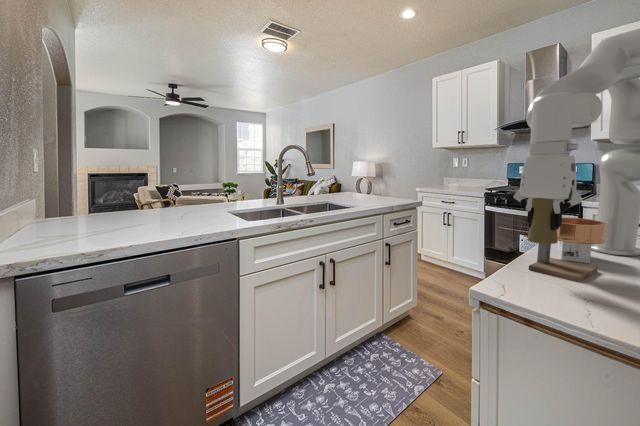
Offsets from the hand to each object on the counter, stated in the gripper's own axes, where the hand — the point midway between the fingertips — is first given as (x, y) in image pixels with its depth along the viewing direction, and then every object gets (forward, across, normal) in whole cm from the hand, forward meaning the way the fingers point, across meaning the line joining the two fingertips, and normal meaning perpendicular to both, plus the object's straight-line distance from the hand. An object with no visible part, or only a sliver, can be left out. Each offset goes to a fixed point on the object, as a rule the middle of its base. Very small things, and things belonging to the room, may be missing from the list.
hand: (543, 227), depth 74 cm
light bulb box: (+14, +2, -27) cm, 30 cm away
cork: (+4, 0, 0) cm, 4 cm away
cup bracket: (+13, -2, -11) cm, 17 cm away
